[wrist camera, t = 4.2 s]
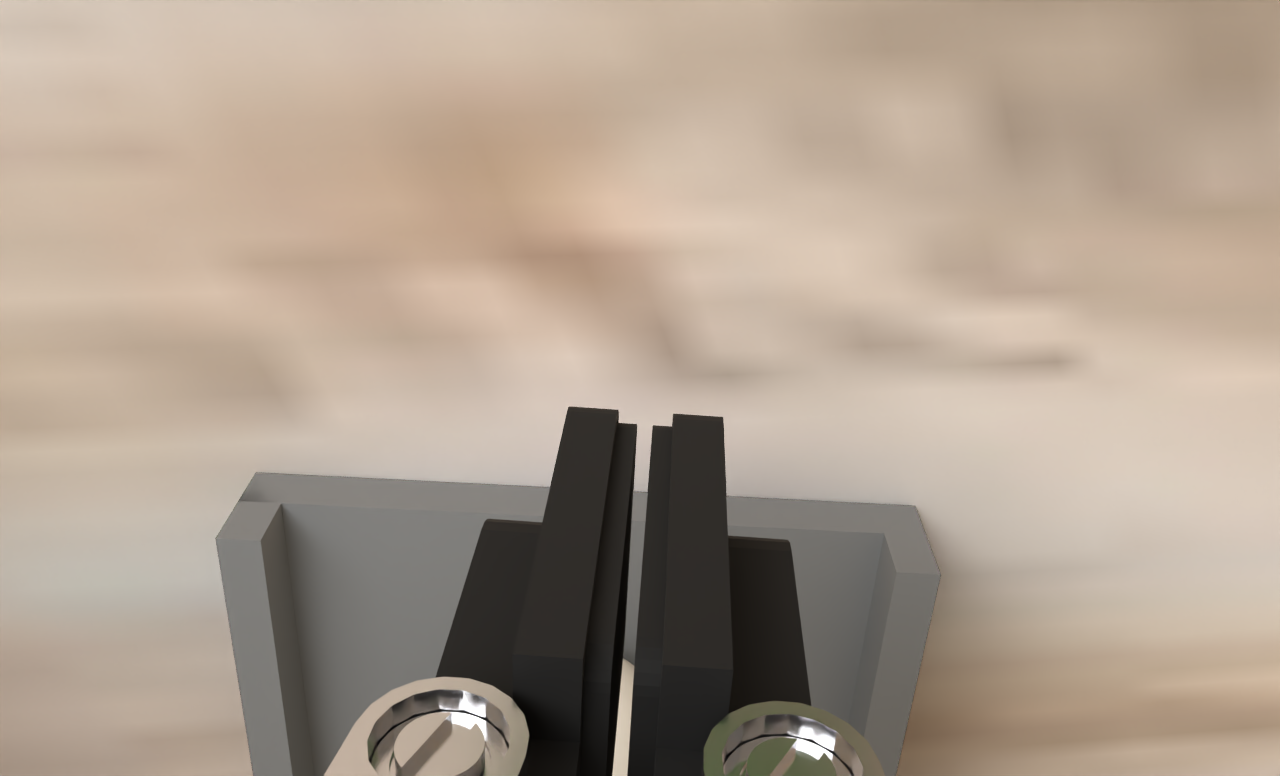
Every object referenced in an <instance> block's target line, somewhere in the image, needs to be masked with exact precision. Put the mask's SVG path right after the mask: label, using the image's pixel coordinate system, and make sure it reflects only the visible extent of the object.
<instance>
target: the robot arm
mask: <svg viewBox="0 0 1280 776" xmlns="http://www.w3.org/2000/svg"><path fill="white" fill-rule="evenodd" d="M618 420H619V412H618V410H611V409H597V408H582V407H568V411H567V415H566V419H565V424H564V428H563V433H562V437H561V441H560V446H559V450H558V455H557V459H556V464H555V468H554V472H553V477H552V481H551V486H550V490H549V495H548V499H547V503H546V508H545V512H544V517H543V521H542V522H530V521H516V520H501V519H487V520H485V522H484V524H483V527H482V529H481V532H480V535H479V539H478V542H477V545H476V548H475V552H474V555H473V558H472V561H471V564H470V568H469V571H468V574H467V577H466V581H465V584H464V587H463V590H462V593H461V597H460V600H459V603H458V606H457V610H456V613H455V616H454V619H453V622H452V626H451V629H450V632H449V635H448V638H447V642H446V645H445V648H444V651H443V655H442V658H441V661H440V664H439V667H438V671H437V674H436V677H435V678H431V679H424V680H417V681H414V682H412V683H409V684H406V685H404V686H401V687H399V688H396V689H393V690H391V691H390V692H388V693H387V694H385V695H384V696H382V697H381V698H379V699H378V700H376V701H375V702H373V703H372V704H371V705H370V706H369V707H368V708H367V709H366V711H365V712H364V713H363V714H362V715H361V716H360V718H359V719H358V720H357V721H356V722H355V724H354V726H353V727H352V729H351V731H350V732H349V734H348V736H347V737H346V739H345V741H344V742H343V744H342V746H341V747H340V749H339V751H338V752H337V754H336V756H335V757H334V759H333V761H332V762H331V764H330V766H329V767H328V769H327V771H326V773H325V774H324V776H612V773H613V762H614V751H615V741H616V730H617V719H618V708H619V697H620V686H621V675H622V664H623V653H624V641H625V627H626V611H627V593H628V576H629V559H630V541H631V524H632V506H633V489H634V472H635V454H636V437H637V424H625V423H618ZM627 776H885V774H884V771H883V768H882V766H881V763H880V761H879V759H878V758H877V756H876V754H875V753H874V751H873V749H872V747H871V746H870V744H869V742H868V741H867V740H866V739H865V738H864V737H863V736H862V735H861V734H860V733H858V732H857V731H856V730H855V729H854V728H853V727H852V726H851V725H850V724H849V723H847V722H845V721H843V720H842V719H840V718H838V717H836V716H834V715H833V714H831V713H829V712H827V711H825V710H822V709H819V708H815V707H812V706H811V698H810V690H809V683H808V675H807V667H806V659H805V651H804V643H803V636H802V628H801V620H800V612H799V604H798V596H797V589H796V581H795V573H794V565H793V557H792V550H791V545H790V542H789V541H788V540H785V539H771V538H757V537H742V536H728V524H727V499H726V475H725V450H724V425H723V417H714V416H699V415H684V414H673V423H672V427H669V426H654V425H653V431H652V444H651V457H650V469H649V482H648V495H647V508H646V521H645V534H644V547H643V560H642V573H641V585H640V598H639V611H638V624H637V637H636V650H635V664H634V679H633V694H632V710H631V725H630V741H629V757H628V772H627Z"/></svg>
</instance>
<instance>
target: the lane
mask: <svg viewBox="0 0 1280 776" xmlns="http://www.w3.org/2000/svg"><path fill="white" fill-rule="evenodd" d="M549 490H550V487H530V486H511V485H491V484H471V483H451V482H431V481H412V480H392V479H372V478H352V477H332V476H312V475H293V474H273V473H255V475H254V476H253V478H252V480H251V481H250V483H249V485H248V486H247V488H246V490H245V491H244V493H243V494H242V496H241V498H240V499H239V501H238V503H237V504H236V506H235V508H234V509H233V511H232V512H231V514H230V516H229V517H228V519H227V521H226V522H225V524H224V526H223V527H222V529H221V530H220V532H219V534H218V535H217V537H216V545H217V551H218V557H219V563H220V570H221V576H222V582H223V588H224V595H225V601H226V607H227V613H228V620H229V626H230V632H231V639H232V645H233V651H234V657H235V664H236V670H237V676H238V682H239V689H240V695H241V701H242V707H243V714H244V720H245V726H246V732H247V739H248V745H249V751H250V758H251V764H252V770H253V776H324V774H325V773H326V771H327V769H328V767H329V766H330V764H331V762H332V761H333V759H334V757H335V756H336V754H337V752H338V751H339V749H340V747H341V746H342V744H343V742H344V741H345V739H346V737H347V736H348V734H349V732H350V731H351V729H352V727H353V726H354V724H355V722H356V721H357V720H358V719H359V718H360V716H361V715H362V714H363V713H364V712H365V711H366V709H367V708H368V707H369V706H370V705H371V704H372V703H373V702H375V701H376V700H378V699H379V698H381V697H382V696H384V695H385V694H387V693H388V692H390V691H391V690H393V689H396V688H399V687H401V686H404V685H406V684H409V683H412V682H414V681H417V680H424V679H431V678H435V677H436V674H437V671H438V667H439V664H440V661H441V658H442V655H443V651H444V648H445V645H446V642H447V638H448V635H449V632H450V629H451V626H452V622H453V619H454V616H455V613H456V610H457V606H458V603H459V600H460V597H461V593H462V590H463V587H464V584H465V581H466V577H467V574H468V571H469V568H470V564H471V561H472V558H473V555H474V552H475V548H476V545H477V542H478V539H479V535H480V532H481V529H482V527H483V524H484V522H485V520H487V519H501V520H516V521H530V522H542V521H543V517H544V512H545V508H546V503H547V499H548V495H549ZM647 495H648V492H633V506H632V524H631V541H630V559H629V576H628V593H627V611H626V627H625V641H624V653H623V658H624V659H625V660H627V661H628V662H630V663H631V664H632V665H634V664H635V650H636V637H637V624H638V611H639V598H640V585H641V573H642V560H643V547H644V534H645V521H646V508H647ZM726 499H727V524H728V536H742V537H757V538H771V539H785V540H788V541H789V542H790V545H791V550H792V557H793V565H794V573H795V581H796V589H797V596H798V604H799V612H800V620H801V628H802V636H803V643H804V651H805V659H806V667H807V675H808V683H809V690H810V698H811V706H812V707H815V708H819V709H822V710H825V711H827V712H829V713H831V714H833V715H834V716H836V717H838V718H840V719H842V720H843V721H845V722H847V723H849V724H850V725H851V726H852V727H853V728H854V729H855V730H856V731H857V732H858V733H860V734H861V735H862V736H863V737H864V738H865V739H866V740H867V741H868V742H869V744H870V746H871V747H872V749H873V751H874V753H875V754H876V756H877V758H878V759H879V761H880V763H881V766H882V768H883V771H884V774H885V776H896V773H897V768H898V764H899V759H900V755H901V750H902V746H903V742H904V737H905V733H906V728H907V724H908V719H909V715H910V710H911V706H912V701H913V697H914V692H915V688H916V683H917V679H918V675H919V670H920V666H921V661H922V657H923V652H924V648H925V643H926V639H927V634H928V630H929V625H930V621H931V617H932V612H933V608H934V603H935V599H936V594H937V590H938V585H939V581H940V576H941V574H940V571H939V568H938V566H937V563H936V560H935V558H934V555H933V552H932V550H931V547H930V544H929V542H928V539H927V536H926V534H925V531H924V528H923V526H922V523H921V520H920V518H919V515H918V512H917V510H916V507H915V506H907V505H887V504H867V503H848V502H828V501H808V500H788V499H768V498H749V497H729V496H726Z"/></svg>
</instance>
